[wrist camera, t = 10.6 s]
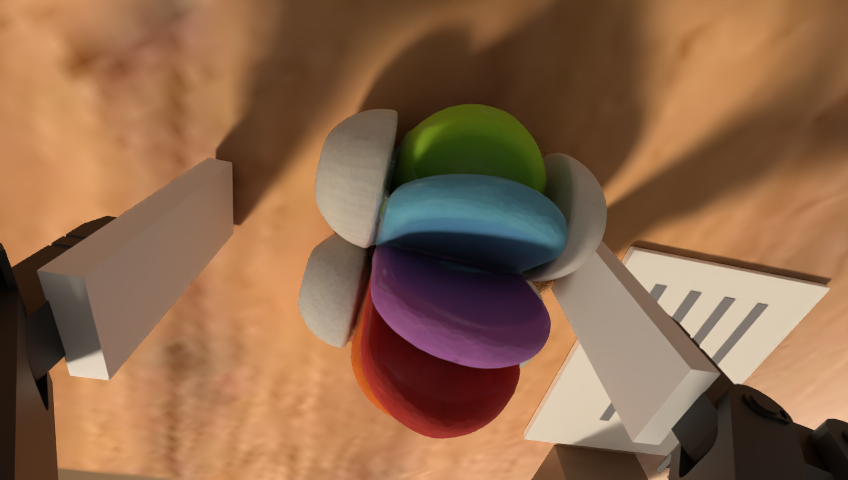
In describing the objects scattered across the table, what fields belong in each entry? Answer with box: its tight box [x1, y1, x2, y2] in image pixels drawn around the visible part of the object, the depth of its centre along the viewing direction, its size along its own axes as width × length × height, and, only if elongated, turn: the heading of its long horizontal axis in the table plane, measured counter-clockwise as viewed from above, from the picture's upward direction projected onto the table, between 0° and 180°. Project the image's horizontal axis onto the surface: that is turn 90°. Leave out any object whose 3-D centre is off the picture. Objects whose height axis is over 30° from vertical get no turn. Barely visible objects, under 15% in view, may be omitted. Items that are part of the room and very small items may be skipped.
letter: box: [523, 246, 831, 456], centre depth 18 cm, size 12×9×1 cm
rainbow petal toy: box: [298, 104, 607, 438], centre depth 11 cm, size 8×10×7 cm
